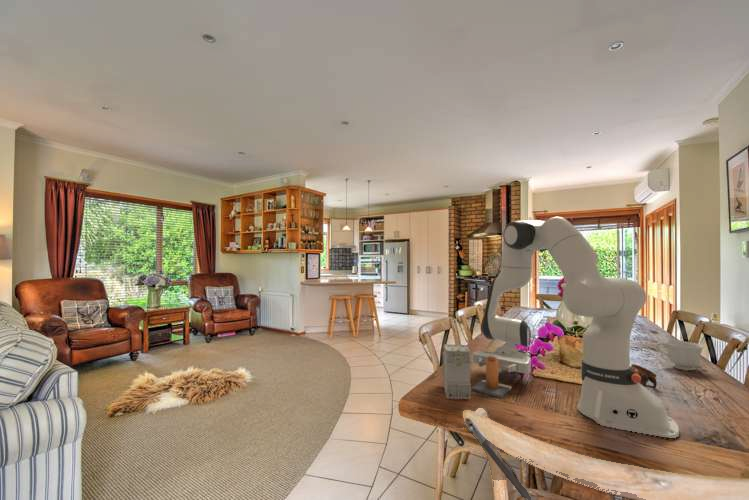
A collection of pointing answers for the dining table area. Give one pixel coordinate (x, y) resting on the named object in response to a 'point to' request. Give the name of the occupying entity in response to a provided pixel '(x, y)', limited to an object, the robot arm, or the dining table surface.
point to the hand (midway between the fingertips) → (493, 366)
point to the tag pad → (494, 392)
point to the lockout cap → (492, 372)
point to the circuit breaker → (456, 371)
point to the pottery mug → (645, 375)
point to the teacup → (682, 353)
